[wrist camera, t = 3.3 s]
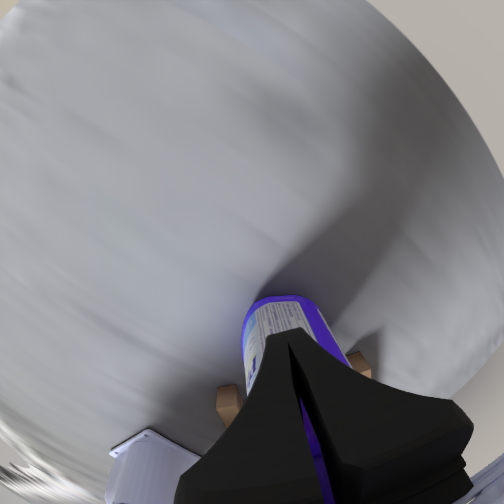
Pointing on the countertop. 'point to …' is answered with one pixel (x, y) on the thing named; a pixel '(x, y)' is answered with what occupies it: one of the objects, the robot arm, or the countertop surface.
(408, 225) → the countertop surface
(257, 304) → the bottle
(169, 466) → the robot arm
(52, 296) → the countertop surface
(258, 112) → the countertop surface
